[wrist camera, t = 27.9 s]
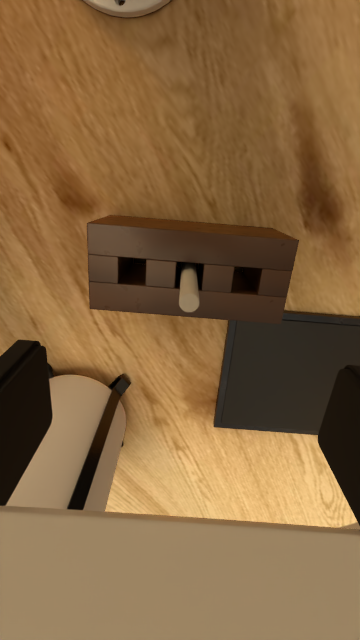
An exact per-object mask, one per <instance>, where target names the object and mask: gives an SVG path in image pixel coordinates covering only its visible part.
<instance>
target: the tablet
mask: <svg viewBox="0 0 360 640" xmlns="http://www.w3.org/2000/svg"><path fill="white" fill-rule="evenodd" d="M346 365H357V366H360V317H357V316H344V315H332V314H319V313H307V312H295V311H284V312H283V317H282V321H281V324H273V323H260V322H248V321H235V320H228V327H227V334H226V341H225V347H224V354H223V361H222V368H221V375H220V382H219V388H218V395H217V402H216V409H215V416H214V427H219V428H232V429H245V430H258V431H271V432H285V433H298V434H311V435H318V433H319V430H320V427H321V424H322V421H323V417H324V414H325V411H326V408H327V405H328V402H329V399H330V396H331V392H332V389H333V386H334V383H335V380H336V377H337V374H338V371H339V370H340V369H344V367H345V366H346Z"/></svg>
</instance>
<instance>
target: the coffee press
mask: <svg viewBox="0 0 360 640" xmlns="http://www.w3.org/2000/svg"><path fill="white" fill-rule="evenodd" d="M48 373H49V383H50V393H51V403H52V413H53V417H52V423H51V425H50V427H49V429H48V431H47V433H46V435H45V436H44V438H43V440H42V442H41V444H40V445H39V447H38V449H37V451H36V452H35V454H34V456H33V458H32V460H31V461H30V463H29V465H28V467H27V469H26V470H25V472H24V474H23V476H22V477H21V479H20V481H19V483H18V485H17V486H16V488H15V490H14V492H13V494H12V495H11V497H10V499H9V501H8V503H7V504H6V506H17V507H39V508H54V509H70V510H86V511H102V512H105V508H106V504H107V500H108V496H109V492H110V489H111V485H112V481H113V477H114V473H115V469H116V465H117V461H118V457H119V453H120V450H121V447H122V446H123V438H124V433H125V429H126V415H125V411H124V408H123V405H122V403H121V402H120V398H121V396H122V394H123V393H124V392H125V391H126V389H127V388H128V387H129V386H130V384H131V382H130V381H129V380H128V379H127V378H126V376H125V375H124V374H122V375H120V376H118V377H117V378H116V379H115V380H114V381H113V382H112V383H111V384H110V385H109V386H108V387H107V386H105V385H104V384H102V383H101V382H99V381H97V380H94V379H92V378H89V377H85V376H80V375H61V376H57V377H54V375H53V371H52V368H51V366H50V365H49V364H48Z"/></svg>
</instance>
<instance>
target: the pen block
mask: <svg viewBox="0 0 360 640" xmlns="http://www.w3.org/2000/svg"><path fill="white" fill-rule="evenodd" d="M87 240H88V270H89V301H90V309H97V310H110V311H122V312H135V313H147V314H160V315H172V316H185V317H198V318H210V319H223V320H235V321H248V322H260V323H273V324H281V321H282V317H283V312H284V307H285V303H286V297H287V293H288V288H289V284H290V279H291V274H292V270H293V266H294V261H295V256H296V252H297V247H298V242H299V240H297V239H295V238H293V237H290V236H288V235H286V234H284V233H282V232H280V231H277V230H275V229H273V228H262V227H250V226H238V225H226V224H214V223H202V222H190V221H177V220H165V219H153V218H141V217H129V216H117V215H109V216H106V217H103V218H100V219H97V220H94V221H91V222H88V223H87ZM134 258H140V259H146V264H139V263H133V261H134ZM178 262H189V263H199V268H196V274H197V283H198V292H199V302H200V303H199V307H198V308H197V309H196V310H195V311H193V312H185V311H183V310H182V309H181V308H180V306H179V295H180V282H181V269H182V267H177V266H178ZM234 266H238V267H243V270H242V271H243V272H238V271H234Z"/></svg>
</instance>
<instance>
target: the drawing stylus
mask: <svg viewBox="0 0 360 640" xmlns="http://www.w3.org/2000/svg"><path fill="white" fill-rule="evenodd" d="M199 303H200V302H199V292H198V283H197V274H196V264H195V263H189V262H182V269H181V282H180V295H179V306H180V308H181V309H182V310H183V311H185V312H193V311H195V310H196V309H197V308H198V307H199Z"/></svg>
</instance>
